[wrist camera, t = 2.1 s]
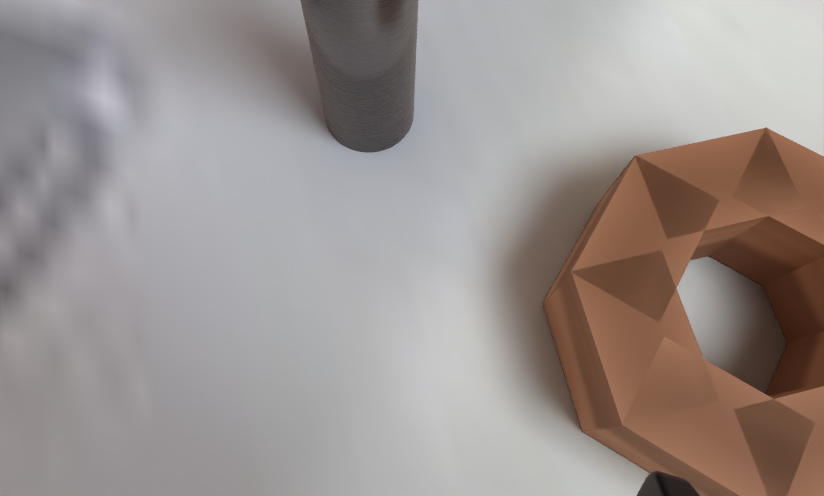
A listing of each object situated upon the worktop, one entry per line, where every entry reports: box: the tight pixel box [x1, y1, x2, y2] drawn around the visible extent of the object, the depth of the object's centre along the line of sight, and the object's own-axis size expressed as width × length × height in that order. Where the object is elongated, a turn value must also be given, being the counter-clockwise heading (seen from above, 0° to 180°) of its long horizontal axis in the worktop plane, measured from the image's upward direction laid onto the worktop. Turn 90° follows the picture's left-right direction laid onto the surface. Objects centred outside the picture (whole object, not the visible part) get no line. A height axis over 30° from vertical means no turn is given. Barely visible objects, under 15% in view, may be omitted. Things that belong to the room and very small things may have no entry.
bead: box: [542, 128, 824, 496], centre depth 20 cm, size 11×11×4 cm
